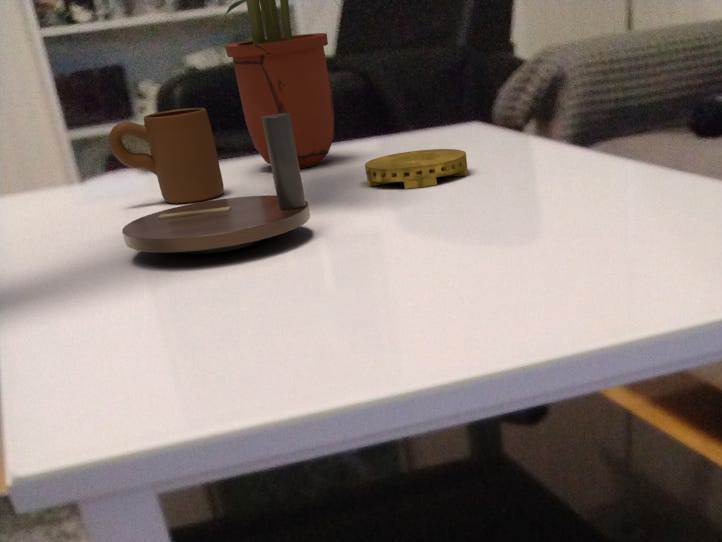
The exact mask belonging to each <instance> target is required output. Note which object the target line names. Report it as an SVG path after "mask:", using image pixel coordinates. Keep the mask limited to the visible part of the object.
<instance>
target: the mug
mask: <svg viewBox="0 0 722 542" xmlns="http://www.w3.org/2000/svg"><path fill="white" fill-rule="evenodd" d="M143 123H144V124H140V123H137V122H132V121H127V120H126V121H122V122H119V123H117V124H116V125H114V126H113V127H112V128H111V130H110V132H109V137H108V142H109V147H110V149H111V152H112V154H113V155H114V157H115V158H116V159H117V160H118V161H119V162H120V163H121V164H123V165H124V166H127V167H128V168H131V169H139V170H140V169H143V170H146V171H149V172H150V173H152V174H154V175H155V176H156V178H157V183H158V185H159V189H160V193H161V196H162V198H163V199H164V201H165V202H166V203H169V204H192V203H199V202H204V201H209V200H211V199H214V198H217V197H219V196H221V195H223V193H224V189H225V186H224V182H223V176H222V170H221V166H220V162H219V157H218V152H217V148H216V143H215V139H214V138H215V137H214V134H213V129H212V124H211V122H210V118H209V115H208V112H207V109H206V108H205V107H188V108H187V107H186V108H178V109H171V110H165V111H158V112H154V113H149V114H147V115H144V116H143ZM124 137H130V138H133V139H138V140H142V141H145V142H147V143H148V147H149V151H150V154H149V153H145V152H131V151H129V150H128V149H127V148H126V146H125V144H124V142H123V138H124Z"/></svg>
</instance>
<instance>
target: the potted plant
mask: <svg viewBox="0 0 722 542" xmlns="http://www.w3.org/2000/svg"><path fill="white" fill-rule="evenodd" d="M334 2H335V3H336V5H337V6H338V7H339V8H340V9H341V7H340V6H339V4H338V2H337V1H336V0H334ZM244 3H246V8H247V15H248V21H249V27H250V33H251V34H250V35H251V40H245V41H239V42H233V43H230V44H226V45H224V48H225V52H226V57H228V58H232V62H233V68H234V72H235V77H236V83H237V87H238V91H239V92H238V93H239V97H240V101H241V102H240V103H241V106H242V111H243V115H244V121H245V125H246V127H247V130H248V133H249V136H250V138H251V141H252V143H253V146H254V148H255V150H256V151H257V153H258V154H259V155H260V156H261V157H262V159H263V160H264V161H265V162H266V163H267V164H268V165H270V166H271V163H270V158H269V153H268V148H267V142H266V137H265V132H264V127H263V122H262V117H263V116H267V115H272V114H281V113H288V114H290V119H291V124H292V130H293V136H294V141H295V147H296V152H297V158H298V163H299V169H304V168H309V167H315V166H317V165H318V164H320V163H321V162H323V161H324V160H325V158H326V157H327V155H328V154H329V152H330V150H331V146H332V143H333V140H334V137H335V134H334V133H335V132H334V131H335V127H334V126H335V113H334V107H333V105H334V104H333V99H332V98H333V97H332V91H331V90H332V89H331V85H330V79H329V71H328V64H327V59H326V53H325V52H326V51H325V46H328V45H329V42H328V41H329V40H328V33H326V32H317V33H303V34H292V32H293V30H294V28H295V26H296V24H294V25H293V27H292V28H291V19H290V7H289V6H290V5H289V4H290V3H289V0H279V4H280V15H281V22H282V23H281V24H282V30H283V36H282V31H281V25H280V19H279V13H278V7H277V2H276V0H237V1H235V2H234V3H232V4H231V5H229V6H228V8H227V10H226V12H225V14H224V17H226V16H227V15H228V14H229V13H230V12H231V11H232V10H234V9H235V8H237V7H239V6H240V5H242V4H244ZM264 29H265V30H264ZM265 34H266V37H265Z"/></svg>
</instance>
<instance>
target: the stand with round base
mask: <svg viewBox="0 0 722 542" xmlns="http://www.w3.org/2000/svg"><path fill="white" fill-rule="evenodd" d="M262 122H263V127H264V132H265V137H266V142H267V148H268V153H269V158H270V163H271V165H270V168H271V173H272V177H273V178H272V179H273V183H274V189H275V193H276V194H275V195H274V194H273V195H249V196H236V197H228V198H227V197H226V198H220V199H212V200H205V201H199V202H193V203H188V204H184V205H181V206H176V207H175V206H174V207H171V208H167V209H163V210H160V211H156V212H153V213H150V214H147V215H144V216H141V217H139V218H136V219H134V220H132V221H130V222H129V223H127V224H126V225H124V226H123V228H122V229H121V233H122V236H123V240H124V243H125V246H126V247H127V248H129V249H131V250H134V251H139V252H145V253H146V252H147V253H187V254H193V255H207V254H208V255H209V254H218V253H219V254H220V253H225V252H232V251H236V250H239V249H244V248H247V247H251V246H253V245H255V244H257V243H259V242H260V241H262V240H267V239H268V238H269V239H270V238H272V237H277V236H280V235H282V234H285V233H288V232H291V231H293V230H295V229H298V228H300V227H302V226H303V225H305V224H306V223H307V222H309V220H310V219H311V210H310V206H309V205H310V204H309V202H308V201H307V200H306V198H305V191H304V187H303V182H302V175H301V168H299V163H298V158H297V152H296V147H295V141H294V136H293V130H292V124H291V119H290V114H288V113H281V114H272V115H267V116H263V117H262Z"/></svg>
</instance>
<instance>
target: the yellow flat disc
mask: <svg viewBox="0 0 722 542" xmlns="http://www.w3.org/2000/svg"><path fill="white" fill-rule="evenodd" d="M467 160H468V159H467V152H466V151H465V150H462V149H454V148H432V149H420V150H411V151H405V152H397V153H392V154H388V155H383V156H379V157H375V158H373V159H370V160H368V161H367V162H365V163H364V168H365V175H366V182H367V186H368V187H375V186H376V187H377V186H382V185H387V184H393V183H403V185H404V190H405V189H407V190H408V189H416V188H417V189H419V188H424V187H425V188H426V187H432V186H437V185H438V182H437V181H438V180H437V178H448V177H449V178H451V177H452V178H453V177H466V176H468V174H469V171H468V161H467Z"/></svg>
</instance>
